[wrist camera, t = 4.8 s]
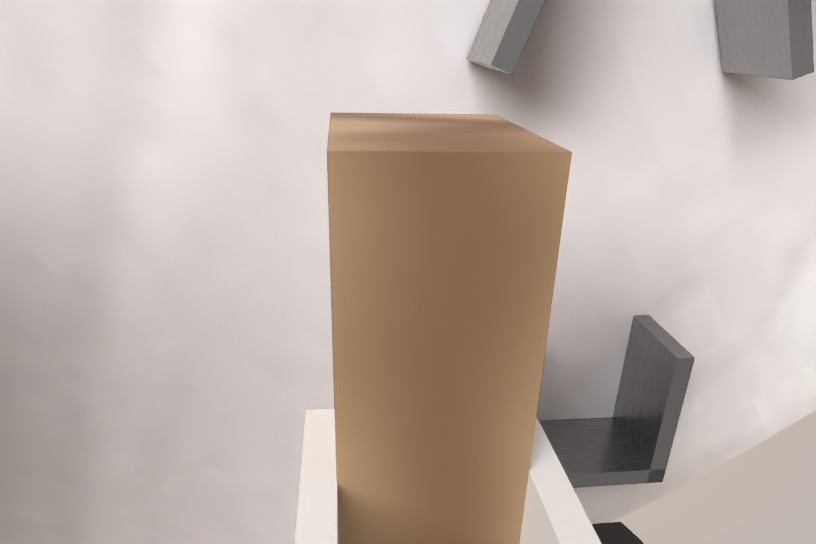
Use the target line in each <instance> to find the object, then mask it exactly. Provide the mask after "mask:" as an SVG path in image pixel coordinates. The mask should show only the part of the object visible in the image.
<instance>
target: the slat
mask: <svg viewBox="0 0 816 544" xmlns="http://www.w3.org/2000/svg"><path fill="white" fill-rule="evenodd" d="M571 154H572V152H570V151H568V150H566V149H564V148H562V147H560V146H558V145H556V144H554V143H552V142H550V141H548V140H546V139H544V138H542V137H540V136H537V135H535V134H533V133H531V132H529V131H527V130H525V129H523V128H521V127H519V126H517V125H515V124H513V123H511V122H509V121H507V120H505V119H503V118H500V117H498V116H496V115H480V114H396V113H331V115H330V125H329V135H328V145H327V172H328V206H329V241H330V275H331V309H332V343H333V377H334V411H335V445H336V479H337V495H338V528H339V544H519V542H520V535H521V528H522V520H523V513H524V505H525V498H526V490H527V483H528V475H529V468H530V460H531V453H532V445H533V438H534V430H535V423H536V415H537V408H538V401H539V393H540V386H541V378H542V371H543V363H544V356H545V348H546V341H547V333H548V326H549V318H550V311H551V303H552V296H553V288H554V281H555V274H556V266H557V259H558V251H559V244H560V236H561V229H562V221H563V214H564V206H565V199H566V191H567V184H568V176H569V169H570V162H571Z"/></svg>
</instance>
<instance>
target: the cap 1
mask: <svg viewBox="0 0 816 544" xmlns="http://www.w3.org/2000/svg"><path fill="white" fill-rule="evenodd" d="M544 1H545V0H491V1H490V3H489V6H488V8H487V11H486V13H485V15H484V18H483V20H482V23H481V25H480V27H479V30H478V32H477V35H476V37H475V39H474V42H473V44H472V47H471V49H470V51H469V54H468V56H467V58H466V59H467V60H469V61H472V62H474V63H476V64H478V65H480V66H483V67H485V68H489V69H493V70H497V71H501V72H505V73H508V74H512V73H513V70H514V68H515V66H516V64H517V61H518V59H519V57H520V55H521V53H522V50H523V48H524V46H525V44H526V41H527V39H528V37H529V35H530V32H531V30H532V28H533V26H534V24H535V21H536V19H537V17H538V15H539V12H540V10H541V8H542V6H543V4H544ZM715 5H716V15H717V24H718V33H719V43H720V52H721V61H722V70H723V72H726V73H735V74H744V75H753V76H762V77H771V78H780V79H789V80H793V79H796V78H798V77H801V76H804V75H806V74H809V73H812V72H814V63H813V39H812V15H811V0H715Z"/></svg>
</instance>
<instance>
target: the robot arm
mask: <svg viewBox="0 0 816 544" xmlns="http://www.w3.org/2000/svg"><path fill="white" fill-rule="evenodd" d="M295 544H339V528H338V495H337V479H336V445H335V411H334V408H330V409H310V410H306V413H305V425H304V437H303V449H302V461H301V473H300V485H299V497H298V508H297V520H296V532H295ZM519 544H643V542H642V541H641V540H640V539H639V538H638V537H637V536H635V535H634V534H633V533H632V532H631V531H630V530H629V529H628V528H627V527H626V526H624V525H623V524H622V523H621V522H613V523H600V524H591V522H590V520H589V518H588V516H587V514H586V512H585V510H584V508H583V506H582V504H581V503H580V501H579V499H578V497H577V495H576V493H575V491H574V489H573V487H572V485H571V483H570V481H569V479H568V477H567V475H566V473H565V471H564V469H563V467H562V465H561V463H560V461H559V460H558V458H557V456H556V454H555V452H554V450H553V448H552V446H551V444H550V442H549V440H548V438H547V436H546V434H545V432H544V430H543V428H542V426H541V424H540V422H539V420H538V419H537V417H536V423H535V430H534V438H533V445H532V453H531V460H530V468H529V475H528V483H527V490H526V498H525V505H524V513H523V520H522V528H521V535H520V542H519Z"/></svg>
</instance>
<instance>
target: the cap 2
mask: <svg viewBox="0 0 816 544" xmlns="http://www.w3.org/2000/svg"><path fill="white" fill-rule="evenodd" d="M693 362H694V357H693V356H692V355H691V354H690V353H689V352H688V351H687V350H686V349H685V348H684V347H683V346H681V345H680V344H679V343H678V342H677V341H676V340H675V339H674V338H673V337H672V336H671V335H670V334H669V333H667V332H666V331H665V330H664V329H663V328H662V327H661V326H660V325H659V324H658V323H657V322H656V321H655V320H653V319H652V318H651V317H650V316H649V315H647V316H634V318H633V323H632V328H631V333H630V337H629V342H628V347H627V352H626V357H625V362H624V367H623V372H622V377H621V382H620V386H619V391H618V396H617V401H616V406H615V411H614V416H613V418H593V419H573V420H553V421H539V422H540V424H541V426H542V428H543V430H544V432H545V434H546V436H547V438H548V440H549V442H550V444H551V446H552V448H553V450H554V452H555V454H556V456H557V458H558V460H559V461H560V463H561V465H562V467H563V469H564V471H565V473H566V475H567V477H568V479H569V481H570V483H571V485H572V487H573V488H574V487H590V486H606V485H621V484H637V483H653V482H662V481H663V478H664V474H665V470H666V466H667V462H668V458H669V455H670V451H671V447H672V443H673V439H674V435H675V431H676V428H677V424H678V420H679V416H680V412H681V408H682V405H683V401H684V397H685V393H686V389H687V385H688V381H689V378H690V374H691V370H692V366H693Z"/></svg>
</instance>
